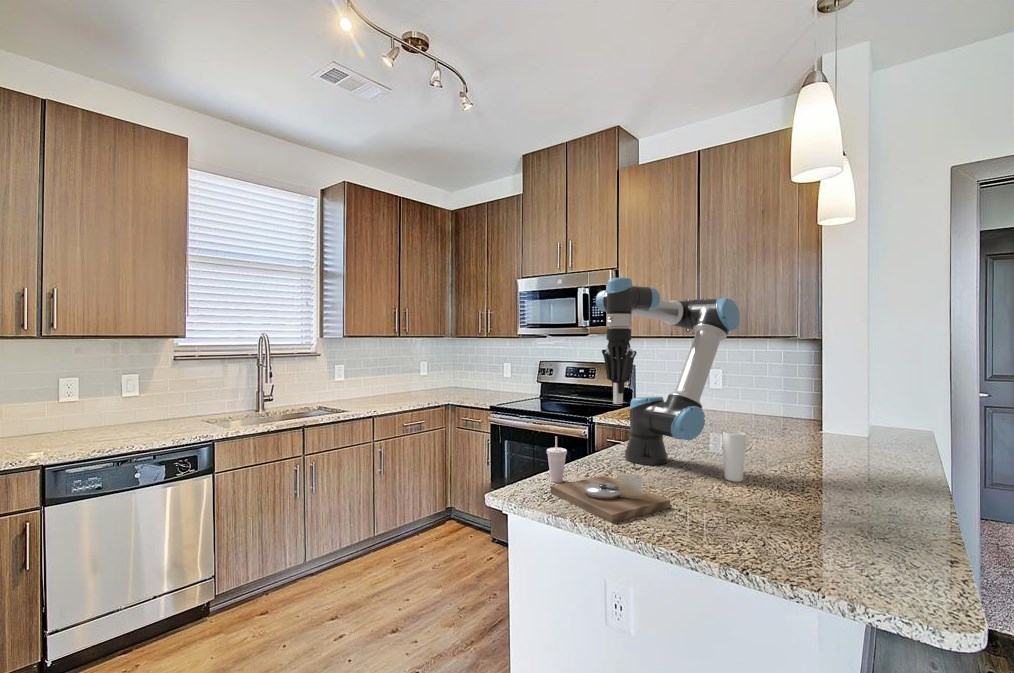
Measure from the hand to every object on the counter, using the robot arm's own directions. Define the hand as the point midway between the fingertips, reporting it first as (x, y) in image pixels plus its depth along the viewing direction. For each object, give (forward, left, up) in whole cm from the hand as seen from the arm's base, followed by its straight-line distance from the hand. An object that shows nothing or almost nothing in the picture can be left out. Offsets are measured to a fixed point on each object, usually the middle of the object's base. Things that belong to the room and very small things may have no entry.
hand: (617, 403), depth 150 cm
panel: (+14, +11, -24) cm, 30 cm away
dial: (+14, +13, -22) cm, 30 cm away
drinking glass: (-34, +17, -25) cm, 45 cm away
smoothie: (+16, -10, -25) cm, 31 cm away
